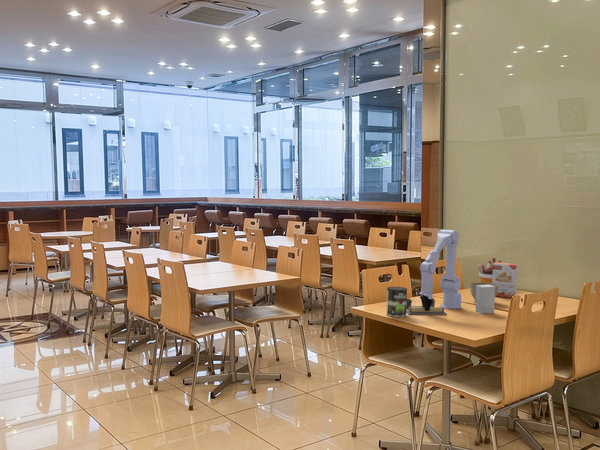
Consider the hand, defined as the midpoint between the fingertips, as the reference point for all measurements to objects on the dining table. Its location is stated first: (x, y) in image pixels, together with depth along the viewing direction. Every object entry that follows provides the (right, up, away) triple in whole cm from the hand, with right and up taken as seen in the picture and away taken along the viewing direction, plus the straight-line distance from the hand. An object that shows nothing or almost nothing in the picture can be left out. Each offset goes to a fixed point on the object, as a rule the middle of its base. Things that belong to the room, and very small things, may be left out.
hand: (426, 310), depth 300 cm
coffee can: (-17, -2, -5) cm, 18 cm away
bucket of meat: (+63, +2, +84) cm, 105 cm away
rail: (0, -1, 0) cm, 1 cm away
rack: (-1, -1, +12) cm, 12 cm away
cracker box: (+61, 0, +54) cm, 81 cm away
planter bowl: (+41, -1, +33) cm, 52 cm away
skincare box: (+33, -2, +5) cm, 33 cm away
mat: (0, -2, 0) cm, 2 cm away
